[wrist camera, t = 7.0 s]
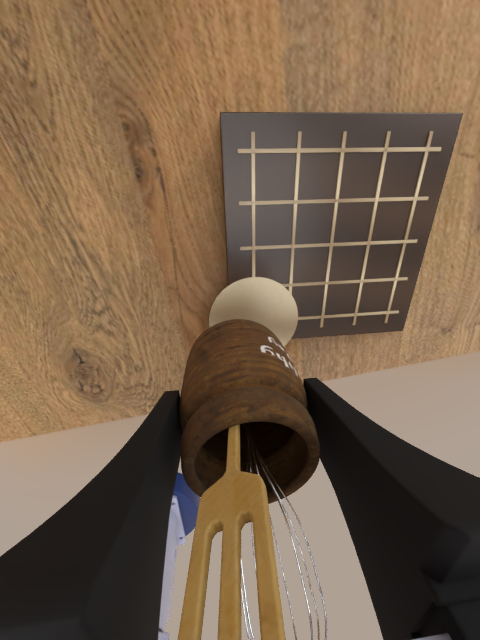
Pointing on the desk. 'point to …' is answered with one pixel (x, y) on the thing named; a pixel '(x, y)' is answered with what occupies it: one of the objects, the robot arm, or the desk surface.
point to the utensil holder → (242, 467)
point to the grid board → (328, 217)
